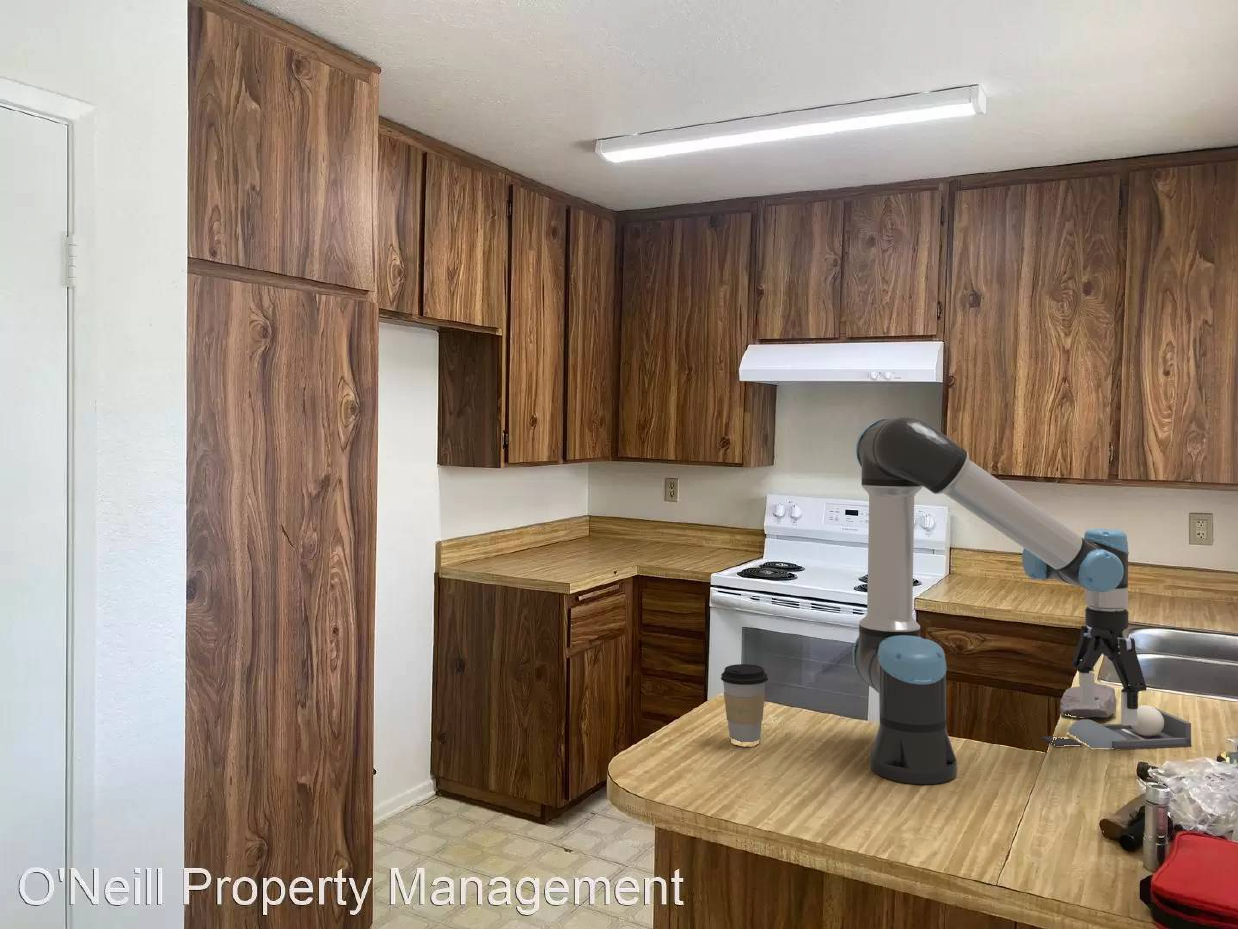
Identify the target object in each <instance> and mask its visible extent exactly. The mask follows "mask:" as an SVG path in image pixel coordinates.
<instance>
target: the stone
mask: <svg viewBox="0 0 1238 929" xmlns="http://www.w3.org/2000/svg"><path fill="white" fill-rule="evenodd" d="M1094 683H1095V705H1080V685H1078V686H1073V687H1069V688H1067V689H1066V690H1065V692H1063V695H1062V697H1061V699H1060V700H1059V701H1060V704H1059V706H1060V707H1059V710H1060V713H1061V714H1062V713H1063V714H1062V715H1063V716H1064V715H1065V714H1066V715H1068V714H1069V715H1071V716H1076V717H1085V718H1084V719H1089V718H1108V717H1110V716H1111V715H1113V714H1114V713H1116V711H1117V702H1118V701H1117V697H1116V690H1115V688H1114V687H1112V686H1109V685H1106V684H1099V683H1096V682H1094ZM1113 712H1114V713H1113ZM1112 713H1113V714H1112Z"/></svg>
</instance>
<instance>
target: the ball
mask: <svg viewBox="0 0 1238 929" xmlns="http://www.w3.org/2000/svg"><path fill="white" fill-rule="evenodd" d="M1155 708H1156V707H1153V706H1152V705H1151V706H1150V705H1145V704H1142V705H1138V709H1137V725H1131V727H1132V728H1133V729H1134V731H1136V732H1137V733H1138V734H1140V735H1142V736H1147V737H1151V736H1155V735H1157V734H1159V733H1160V732H1161V731H1162V729H1163V727H1164V719H1163V716H1162V715H1161V713H1160V712H1159V711H1158V710H1157V709H1158V708H1157V709H1155Z"/></svg>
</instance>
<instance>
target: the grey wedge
mask: <svg viewBox="0 0 1238 929" xmlns="http://www.w3.org/2000/svg"><path fill="white" fill-rule="evenodd" d="M1067 732H1069V733H1070V734H1071V735H1073V736H1076V738H1078V739H1079V740H1080V741H1082V742H1084V743H1086V744H1087V745H1089V746H1090V747H1091V748H1112V741H1121V740H1127V739H1126V738H1125V737H1123V736H1122V735H1120V734H1118V733H1116V732H1114V731H1112V730H1110V729H1108V728H1106V727H1104V726H1102V724H1100V723H1098V722H1096V721H1094V720H1092V719H1089V718H1082V719H1079V720H1077V721H1075V722H1073V723H1072V725H1071V726H1069V728H1068V730H1067ZM1091 748H1090V749H1091Z"/></svg>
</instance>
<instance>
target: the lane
mask: <svg viewBox="0 0 1238 929" xmlns="http://www.w3.org/2000/svg"><path fill="white" fill-rule="evenodd" d="M1154 708H1155V709H1157V710H1158V711H1159V712H1160V713H1161V715H1162V716H1163V719H1164V727H1163V729H1162V731H1161V732H1160V733H1159V734H1157V735H1155V736H1151V737H1147V736H1142V735H1140V734H1138V733H1137V732H1136V731H1134V729H1133V728H1132V727H1131V725H1128V726H1124V725H1121V723H1107V724H1105V723H1104V724H1101V725H1102V726H1104V727H1106V728H1108V729H1110V730H1112V731H1114V732H1116V733H1118V734H1120V735H1122V736H1123V737H1125V738H1126V739H1127V740H1121V741H1112V748H1114V749H1126V750H1142V749H1143V750H1144V749H1146V750H1147V749H1164V748H1184V747H1185V748H1186V747H1187V748H1188V747H1192V723H1191V722H1190V721H1187V720H1184V719H1182V718H1181V717H1178V716H1175V715H1173V714H1170V713H1168V712H1166V711H1164V710H1161V709H1159V708H1157V707H1154ZM1114 749H1113V750H1114Z"/></svg>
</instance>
